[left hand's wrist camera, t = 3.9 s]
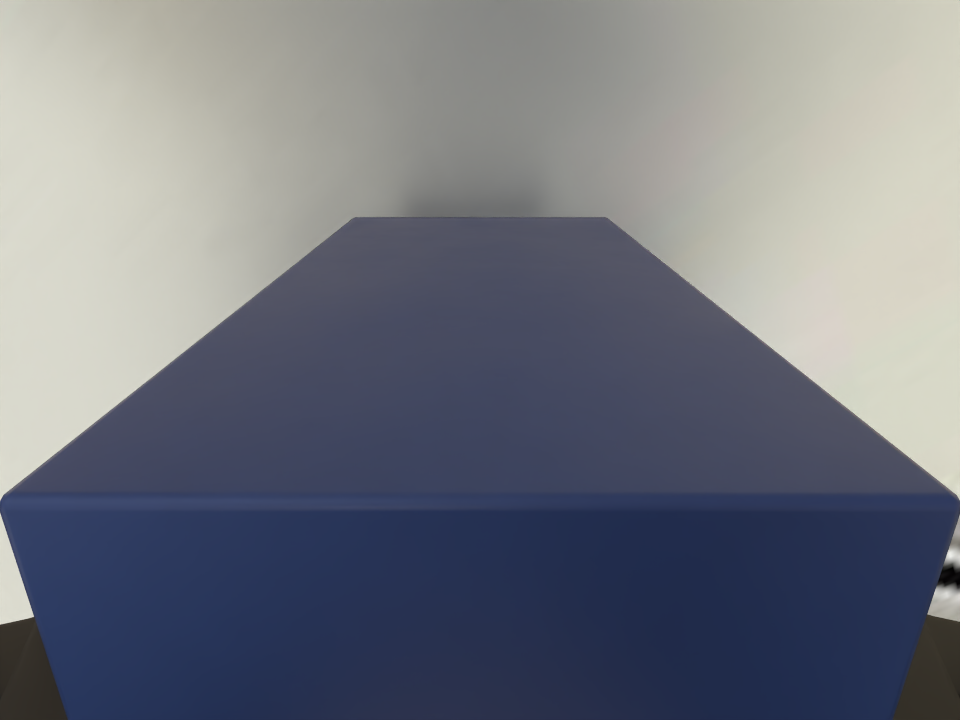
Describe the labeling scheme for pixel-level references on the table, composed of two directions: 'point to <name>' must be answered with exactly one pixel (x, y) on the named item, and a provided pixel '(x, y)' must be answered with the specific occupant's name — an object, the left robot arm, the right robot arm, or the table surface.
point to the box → (480, 504)
